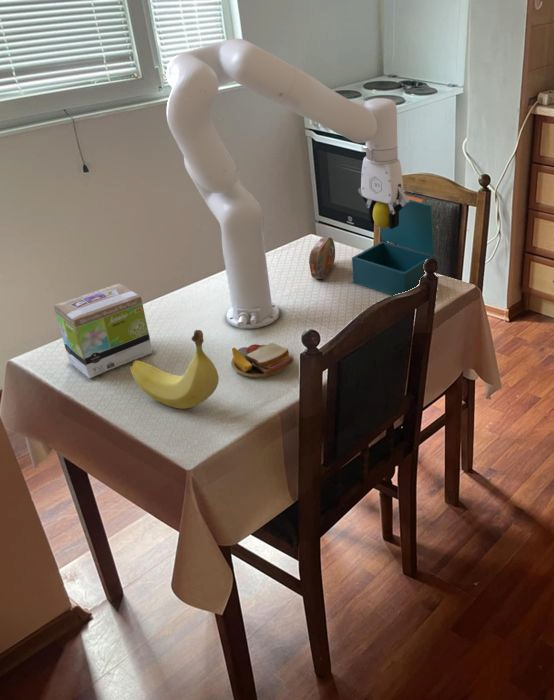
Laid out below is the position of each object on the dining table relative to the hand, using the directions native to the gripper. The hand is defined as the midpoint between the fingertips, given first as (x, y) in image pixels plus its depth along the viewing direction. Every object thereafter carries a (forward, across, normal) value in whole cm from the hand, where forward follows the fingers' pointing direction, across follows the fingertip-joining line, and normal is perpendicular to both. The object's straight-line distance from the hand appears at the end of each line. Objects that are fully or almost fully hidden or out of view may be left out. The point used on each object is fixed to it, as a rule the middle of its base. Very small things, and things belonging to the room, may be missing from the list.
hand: (384, 223), depth 182 cm
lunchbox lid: (+3, 0, +8) cm, 9 cm away
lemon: (+2, 0, 0) cm, 2 cm away
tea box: (+17, -28, -64) cm, 72 cm away
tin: (+18, -19, -3) cm, 26 cm away
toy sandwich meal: (+17, +2, -46) cm, 49 cm away
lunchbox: (+17, 0, +3) cm, 18 cm away
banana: (+17, -2, -66) cm, 69 cm away
